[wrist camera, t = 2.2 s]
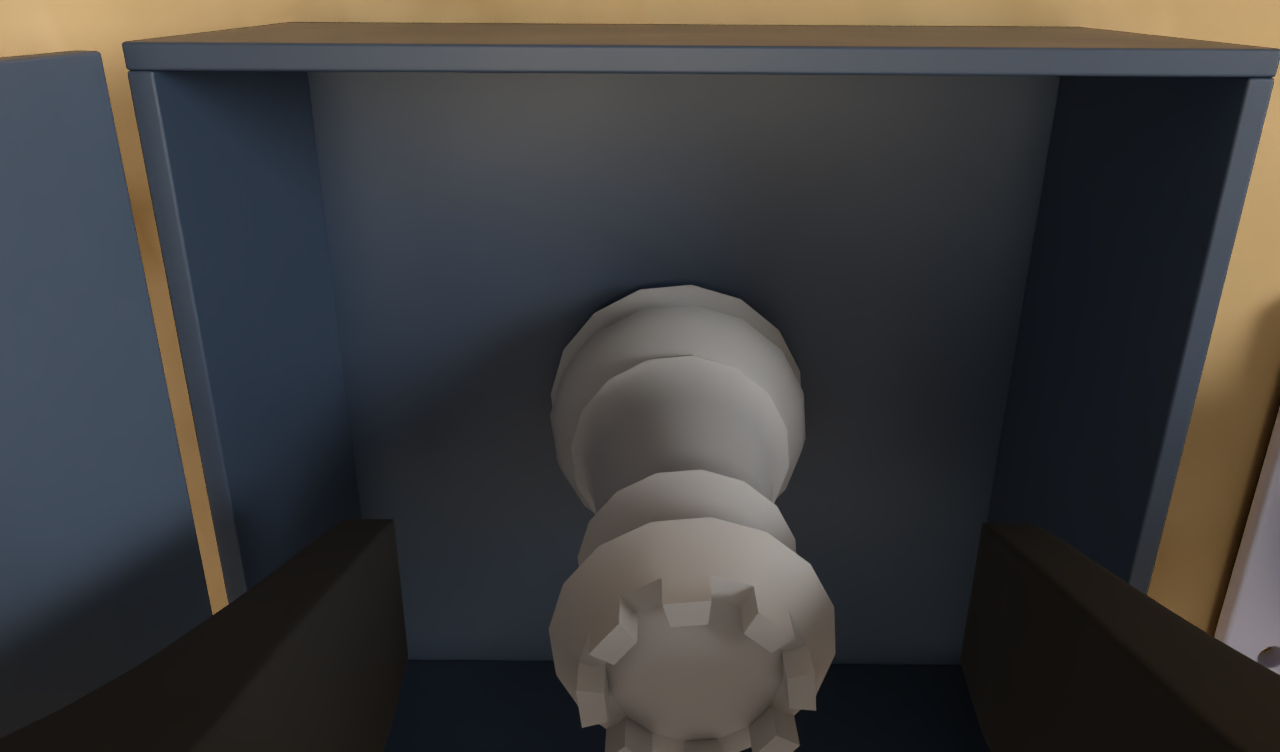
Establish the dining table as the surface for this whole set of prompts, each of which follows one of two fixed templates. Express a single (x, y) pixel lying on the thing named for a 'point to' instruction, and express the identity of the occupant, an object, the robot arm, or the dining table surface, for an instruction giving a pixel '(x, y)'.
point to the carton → (708, 258)
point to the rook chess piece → (686, 529)
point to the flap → (80, 407)
